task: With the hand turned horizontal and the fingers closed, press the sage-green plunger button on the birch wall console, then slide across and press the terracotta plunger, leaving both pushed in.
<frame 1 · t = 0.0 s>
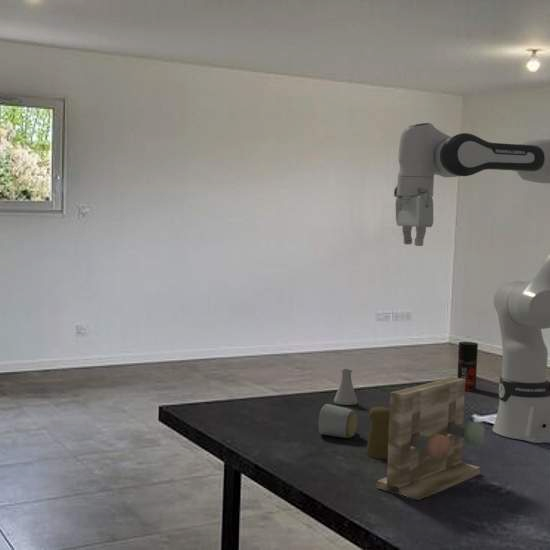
hand: (413, 245, 199), 48 cm above the table, tool pointing down, fingers open, 8 cm apart
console: (442, 484, 165), on the table
cork: (378, 455, 185), on the table
ceramic mug: (338, 435, 201), on the table
flask: (345, 403, 235), on the table
button terracotta: (428, 443, 159), point 10 cm above the table, slide at 0.0 cm
deodorant: (466, 389, 260), on the table
button sage: (464, 431, 169), point 10 cm above the table, slide at 0.0 cm
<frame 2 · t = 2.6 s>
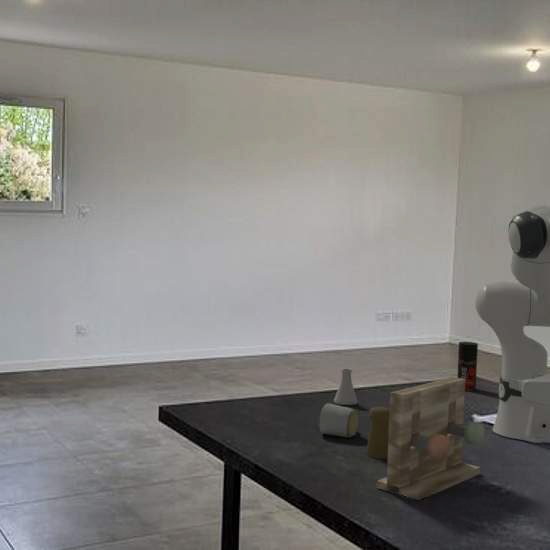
hand: (522, 380, 159), 23 cm above the table, tool horizontal, fingers open, 8 cm apart
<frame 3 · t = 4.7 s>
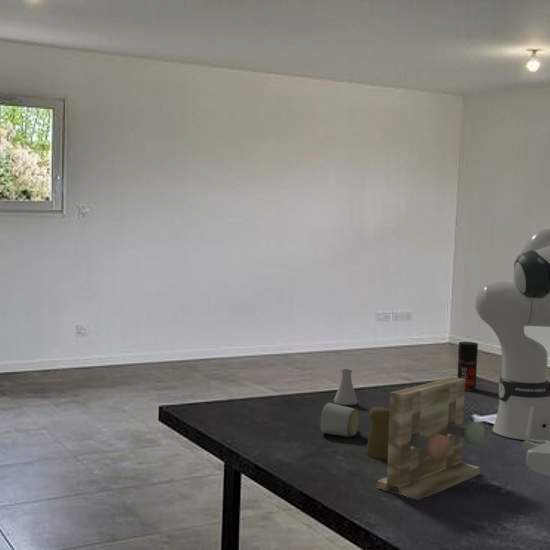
hand: (525, 444, 159), 10 cm above the table, tool horizontal, fingers closed
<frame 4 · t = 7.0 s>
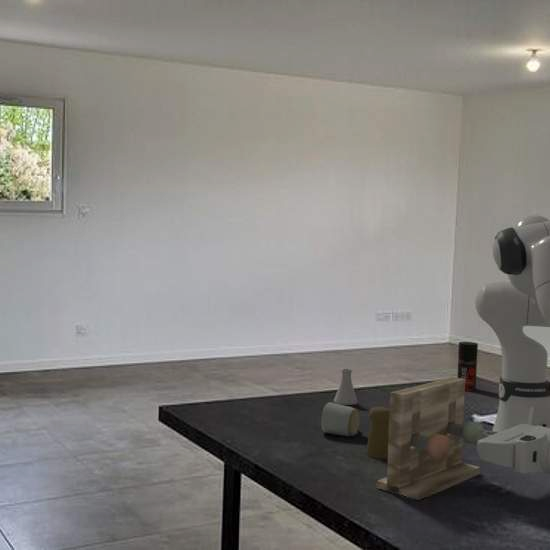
hand: (478, 435, 167), 10 cm above the table, tool horizontal, fingers closed, pressing on button sage
button sage: (462, 430, 169), point 10 cm above the table, slide at 0.3 cm, touching gripper
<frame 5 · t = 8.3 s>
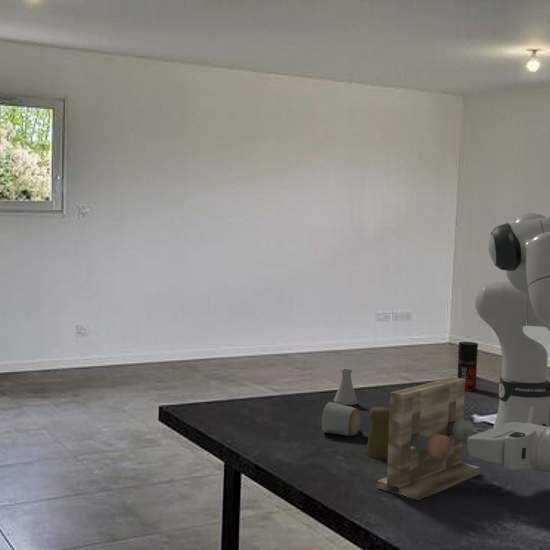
hand: (469, 432, 168), 10 cm above the table, tool horizontal, fingers closed
button sage: (452, 428, 171), point 10 cm above the table, slide at 2.7 cm
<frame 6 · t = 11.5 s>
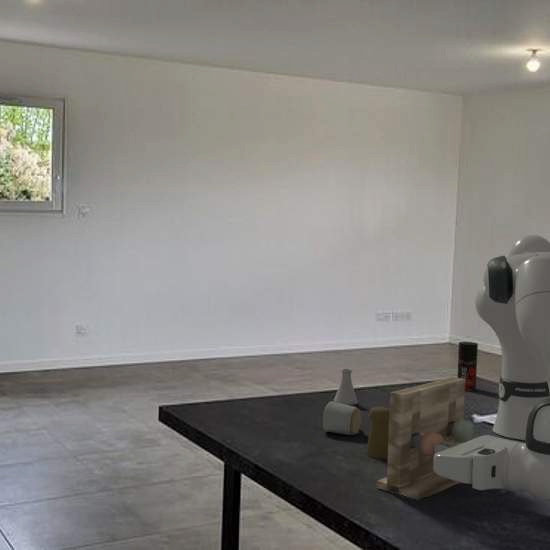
hand: (438, 447, 157), 10 cm above the table, tool horizontal, fingers closed, pressing on button terracotta
button terracotta: (421, 442, 160), point 10 cm above the table, slide at 1.5 cm, touching gripper
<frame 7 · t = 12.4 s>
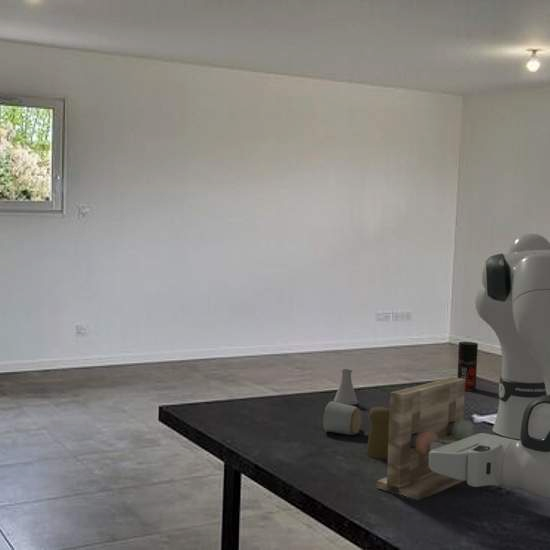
hand: (433, 444, 158), 10 cm above the table, tool horizontal, fingers closed
button terracotta: (416, 440, 160), point 10 cm above the table, slide at 2.7 cm
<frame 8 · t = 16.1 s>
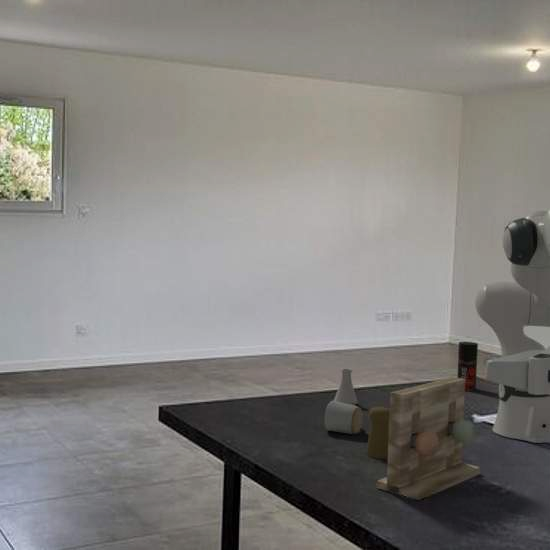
hand: (487, 360, 152), 28 cm above the table, tool horizontal, fingers closed
at the end: button sage slide at 2.7 cm; button terracotta slide at 2.7 cm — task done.
